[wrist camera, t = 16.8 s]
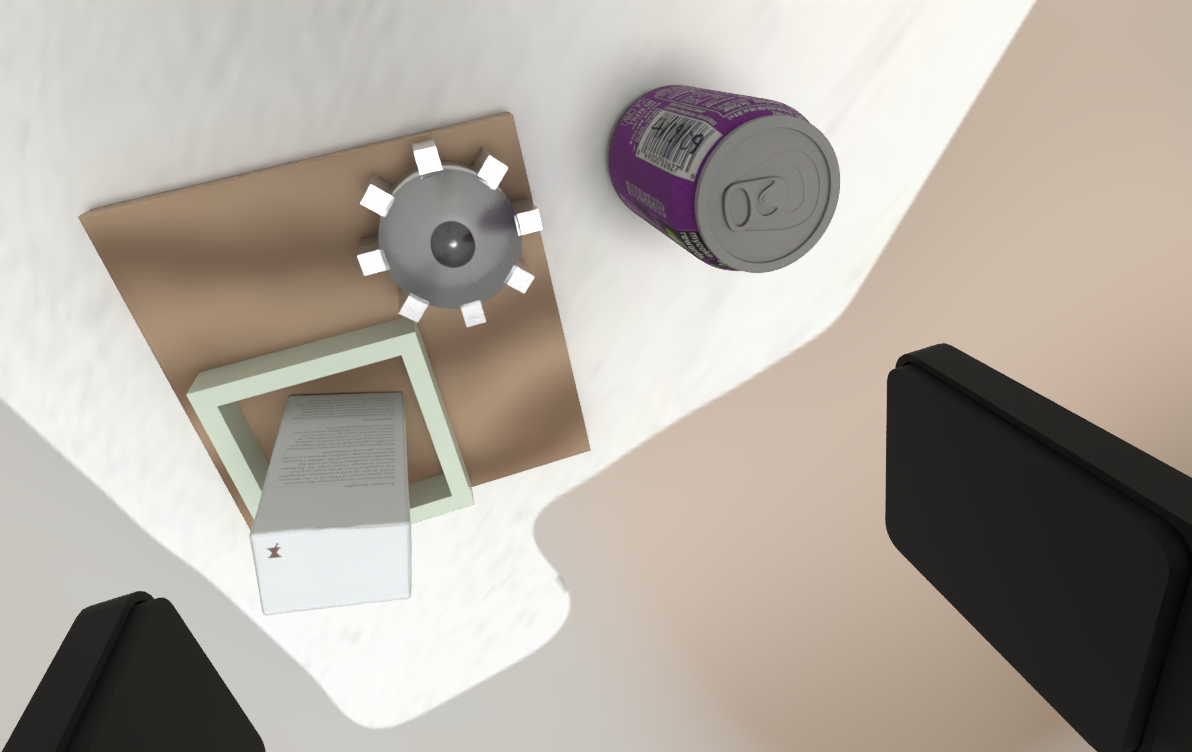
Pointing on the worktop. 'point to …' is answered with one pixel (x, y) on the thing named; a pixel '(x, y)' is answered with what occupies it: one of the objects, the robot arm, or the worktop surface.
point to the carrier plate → (342, 302)
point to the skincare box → (335, 505)
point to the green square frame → (314, 360)
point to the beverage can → (726, 175)
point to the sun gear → (448, 233)
